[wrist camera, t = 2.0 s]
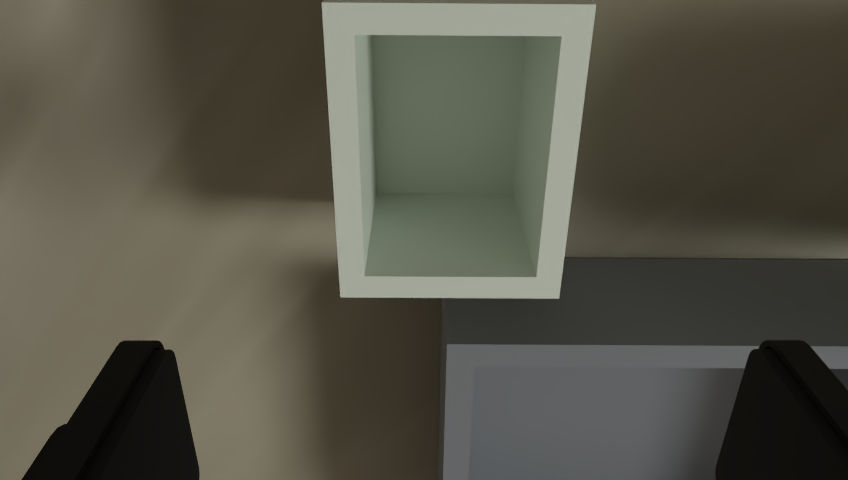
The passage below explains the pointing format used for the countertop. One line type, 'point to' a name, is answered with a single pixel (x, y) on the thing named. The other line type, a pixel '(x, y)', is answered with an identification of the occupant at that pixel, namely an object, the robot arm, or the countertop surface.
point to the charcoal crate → (623, 365)
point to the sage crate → (454, 143)
